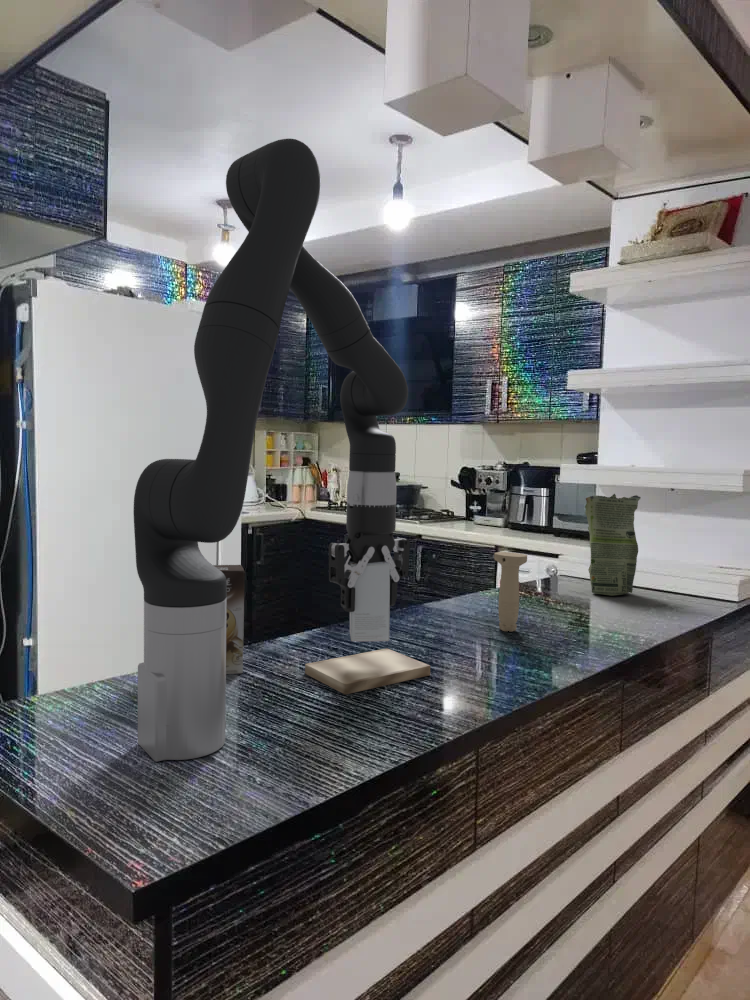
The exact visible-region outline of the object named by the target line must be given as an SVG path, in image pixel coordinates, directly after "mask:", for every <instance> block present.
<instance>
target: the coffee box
mask: <svg viewBox="0 0 750 1000" xmlns="http://www.w3.org/2000/svg"><path fill="white" fill-rule="evenodd" d="M212 565H213V566H215V567H216V568H217V569H219V570H220V571H222V572H223V573H224V575H225V577H226V581H227V597H226V598H227V606H226V675H234V674H237V675H238V674H243V672H244V627H245V626H244V623H245V622H244V620H245V618H244V617H245V573H246V572H245V570H244V569H245V568H243V566H242V564H215V565H214V564H212Z"/></svg>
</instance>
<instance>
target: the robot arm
mask: <svg viewBox="0 0 750 1000" xmlns="http://www.w3.org/2000/svg"><path fill="white" fill-rule="evenodd" d="M316 158H317V157H316V156H315V154H314V153H313V151H312V149H311V148H310V147H309V146H308V145H306V144H305V143H304V142H303V141H300V140H298V139H294V138H282V139H278V140H274V141H270V142H269V143H267V144H264V145H263V146H261V147H259V148H256V149H255V150H252V151H250V152H249V153H247V154H244V155H242V156H241V157H239V158H237V159H236V160H234V161H233V162H232V163H231V165H230V166H229V168H228V170H227V172H226V176H225V177H226V179H225V189H226V194H227V197H228V200H229V203H230V205H231V206H232V209H233V211H234V213H235V214H236V216H237V218H238V219H239V221H240V222H241V223H242V226H243V227H244V228H245V229H246V230H247V232H248V233H247V235H246V237H245V239H244V240H243V242H242V243H241V244H240V246H239V248H238V249H237V251H236V252H235V253H234V255H232V257H231V258H230V261H228V263H227V264H226V266H225V267H224V268H223V270H222V272H221V273H220V275H219V276H218V277H217V279H216V281H215V283H214V284H213V286H212V287H211V289H210V291H209V293H208V296H207V298H206V301H205V304H204V306H203V310H202V314H201V317H200V321H199V325H198V328H197V330H196V331H197V332H196V336H195V339H194V345H193V352H194V362H195V366H196V367H195V368H196V371H197V376H198V378H199V381H200V385H201V387H202V391H203V395H204V398H205V406H206V417H205V424H204V425H205V426H204V431H203V435H202V439H201V442H200V443H201V444H200V446H199V450H198V453H197V454H196V455H197V456H196V457H195V459H192V458H190V459H189V458H188V459H186V458H164V459H163V458H161V459H158V460H155V461H153V462H151V463H150V464H148V465H147V466H146V467H145V468H144V469H143V471H142V472H141V474H140V475H139V478H138V480H137V483H136V485H135V491H134V496H133V528H134V529H133V531H134V547H135V550H134V551H135V565H136V572H137V576H138V578H139V580H140V583H141V585H142V589H143V662H139V663H138V665H137V744H138V745H139V746H140V747H141V749H143V750H144V751H145V752H146V753H147V755H148V756H149V757H150V758H151V760H152V761H154V762H160V761H161V762H162V761H167V760H168V761H174V760H175V761H179V760H180V761H181V760H182V761H183V760H191V759H198V758H201V757H206V756H208V755H211V754H213V753H215V752H218V751H219V750H220V749H221V748H222V747H223V746H224V745H225V743H226V728H227V720H226V715H227V714H226V712H227V711H226V709H227V708H226V706H227V705H226V703H227V702H226V701H227V700H226V699H227V697H226V696H227V692H226V691H227V689H226V688H227V687H226V686H227V685H226V684H227V678H226V677H227V674H226V606H227V598H226V597H227V581H226V577H225V575H224V573H223V572H222V571H220V570H219V569H217V568H216V567H215V566H213V565H214V564H212V563H210V561H208V560H207V559H206V558H205V556H204V555H203V554H202V552H201V550H200V548H199V543H205V544H211V543H212V544H213V543H214V544H215V543H219V542H220V541H223V540H225V539H226V538H227V537H228V536H230V534H231V533H232V532H233V531H234V529H235V528H236V526H237V523H238V521H239V519H240V516H241V513H242V510H243V507H244V502H245V497H246V492H247V487H248V480H249V472H250V466H251V465H250V463H251V458H252V450H253V445H254V444H253V443H254V440H255V439H254V438H255V432H256V427H257V426H256V425H257V421H258V417H259V412H260V409H261V403H262V399H263V394H264V391H265V386H266V382H267V377H268V374H269V370H270V367H271V363H272V361H273V357H274V353H275V349H276V346H277V341H278V338H279V332H280V327H281V322H282V319H283V315H284V310H285V307H286V302H287V299H288V296H289V292H290V291H291V292H292V293H293V294H294V296H295V297H296V299H297V301H298V302H299V304H300V305H301V307H302V308H303V311H304V312H305V314H306V315H307V317H308V320H309V321H310V323H311V324H312V326H313V328H314V331H315V333H316V334H317V336H318V338H319V339H320V342H321V343H322V345H323V348H324V349H325V351H326V353H327V355H328V357H329V358H330V359H331V361H332V362H333V363H334V364H335V365H337V366H339V367H343V368H346V369H349V370H351V371H350V372H349V373H348V374H347V375H346V376H345V378H344V380H343V382H342V384H341V387H340V396H339V399H340V402H339V403H340V407H341V413H342V416H343V422H344V427H345V430H346V434H347V438H348V442H349V464H348V465H349V468H348V478H347V485H346V520H345V521H346V523H345V525H346V526H345V527H346V528H345V529H346V532H347V539H346V541H345V542H342V543H341V542H340V543H336V542H330V543H329V544H328V581H329V582H330V583H334V584H337V585H339V586H340V606H341V608H342V610H343V611H344V612H347V613H350V612H354V611H355V588H354V587H353V586H354V584H355V582H356V581H357V579H358V577H359V575H361V574H362V573H363V571H364V569H365V567H366V565H367V564H368V563H374V562H388V563H389V564H390V607H392V606H395V605H396V602H397V599H398V582H399V581H400V579H402V578H407V577H408V575H409V570H410V569H409V567H410V551H411V550H410V547H411V541H410V539H408V538H403V537H395V538H394V533H395V531H396V527H397V526H396V525H397V523H396V522H397V519H396V518H397V480H396V457H397V456H396V454H397V445H396V439H395V437H394V436H393V435H392V434H390V433H389V432H388V433H387V432H385V431H382V430H381V428H380V426H379V423H378V416H380V417H381V416H392V415H396V414H398V413H400V412H401V411H403V409H405V406H406V404H407V402H408V398H409V387H408V382H407V379H406V377H405V374H404V372H403V371H402V369H401V367H400V366H399V365H398V363H396V361H395V360H394V359H393V357H392V356H391V355H390V354H389V353H388V351H387V350H386V349H385V348H384V346H382V344H381V343H380V342H379V341H378V340H377V338H376V337H374V335H373V333H372V331H371V328H370V327H369V323H368V321H367V320H366V318H365V316H364V314H363V312H362V310H361V307H360V305H359V304H358V302H357V300H356V298H355V297H354V295H353V294H352V292H351V291H350V289H348V288H347V286H346V284H344V283H343V282H342V281H341V280H340V279H339V278H338V277H337V276H335V275H334V274H333V272H331V271H330V270H329V269H327V268H326V267H325V266H324V265H323V264H322V263H321V262H320V261H318V259H316V258H315V257H314V256H313V255H312V253H310V251H309V250H308V249H307V248H306V247H305V245H304V243H305V240H306V238H307V235H308V232H309V230H310V226H311V224H312V221H313V219H314V217H315V214H316V211H317V208H318V204H319V201H320V198H321V188H322V187H321V186H322V180H321V171H320V166H319V164H318V160H317V159H316ZM392 552H393V557H392V556H391V554H392ZM347 553H348V554H347ZM347 555H349V556H348V557H347ZM346 557H347V560H346V561H345V558H346ZM351 562H354V563H357V566H355V567H354V566H353V567H352V568H351V566H350V563H351ZM351 571H352V572H351Z"/></svg>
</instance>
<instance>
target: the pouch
mask: <svg viewBox="0 0 750 1000" xmlns="http://www.w3.org/2000/svg"><path fill="white" fill-rule="evenodd" d="M640 500H641V496H639V495H637V494H636V495H631V496H630V497H625V496H623V497H619V498H618V497H617V495H616V494H615V493H613V494H612V495H611V496H604V495H590V496H588V497H586V498H585V503H586V504H585V506H584V508H585V512H584V513H585V516H586V517H587V518H586V519H587V524H588V527H587V530H588V533H589V542H588V543H589V549H590V562H589V563H590V564H589V566H588V567H589V568H588V569H587V570H588V573H589V581H590V587H591V593H593V594H596V595H603V596H611V597H612V596H613V597H614V596H623V595H627V594H629V593H631V594H633V589H634V588H633V585H634V579H635V575H636V570H637V562H638V554H639V544H638V541H637V538H636V537H637V536H636V531H635V523H634V521H635V512H636V510H638V505H639V501H640Z"/></svg>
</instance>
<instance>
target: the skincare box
mask: <svg viewBox="0 0 750 1000" xmlns="http://www.w3.org/2000/svg"><path fill="white" fill-rule="evenodd" d="M350 566H351V568H352V567H353V566H354V567H355V566H357V563H354V562H351V563H350ZM351 572H352V571H351ZM353 587H354V588H355V611H354V612H349V637H350V642H389V641H390V615H391V613H390V611H391V610H390V609H391V608H390V607H391V606H390V564H389V563H388V562H374V563H368V564H367V565H366V567H365V569H364V571H363V573H362V574H361V575H359V577H358V579H357V581H356V582H355V584H354V586H353Z"/></svg>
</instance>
